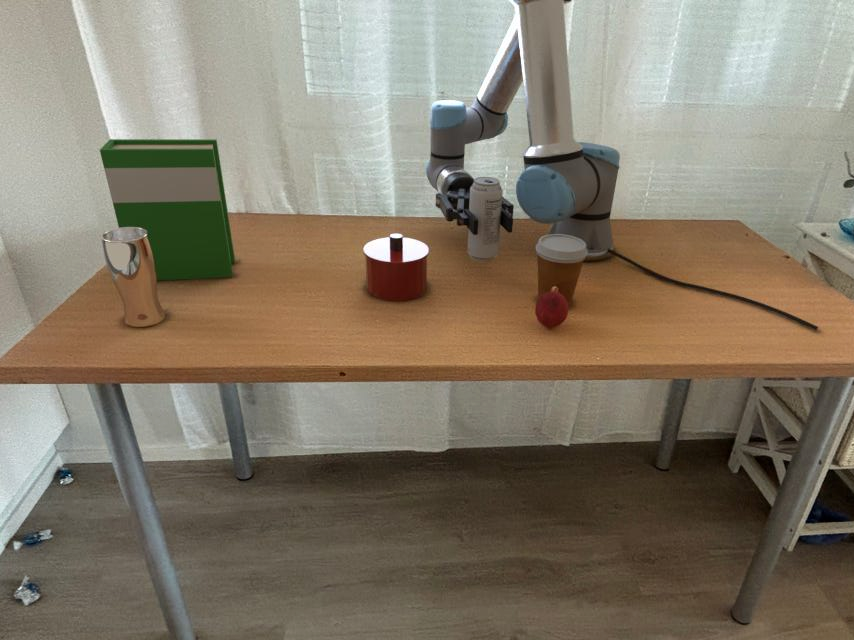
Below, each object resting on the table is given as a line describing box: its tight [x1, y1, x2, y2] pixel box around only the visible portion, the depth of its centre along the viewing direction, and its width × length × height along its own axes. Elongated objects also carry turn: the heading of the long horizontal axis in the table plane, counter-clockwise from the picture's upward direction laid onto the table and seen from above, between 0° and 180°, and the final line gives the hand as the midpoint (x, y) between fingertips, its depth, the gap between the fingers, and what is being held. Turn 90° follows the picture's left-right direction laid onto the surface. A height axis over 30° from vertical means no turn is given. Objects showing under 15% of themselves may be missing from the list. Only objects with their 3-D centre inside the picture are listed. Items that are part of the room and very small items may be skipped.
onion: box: [534, 286, 570, 330], centre depth 111 cm, size 6×6×8 cm
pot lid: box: [362, 233, 430, 265], centre depth 119 cm, size 12×12×4 cm
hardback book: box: [99, 138, 236, 281], centre depth 118 cm, size 18×7×24 cm, turn 104°
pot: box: [364, 255, 428, 302], centre depth 122 cm, size 11×11×7 cm
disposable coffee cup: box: [535, 234, 588, 308], centre depth 119 cm, size 10×10×12 cm
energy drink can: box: [467, 176, 503, 263], centre depth 122 cm, size 6×6×15 cm
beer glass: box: [100, 227, 166, 328], centre depth 104 cm, size 7×7×15 cm
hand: (493, 226), depth 118 cm, fingers closed on energy drink can, 6 cm apart
